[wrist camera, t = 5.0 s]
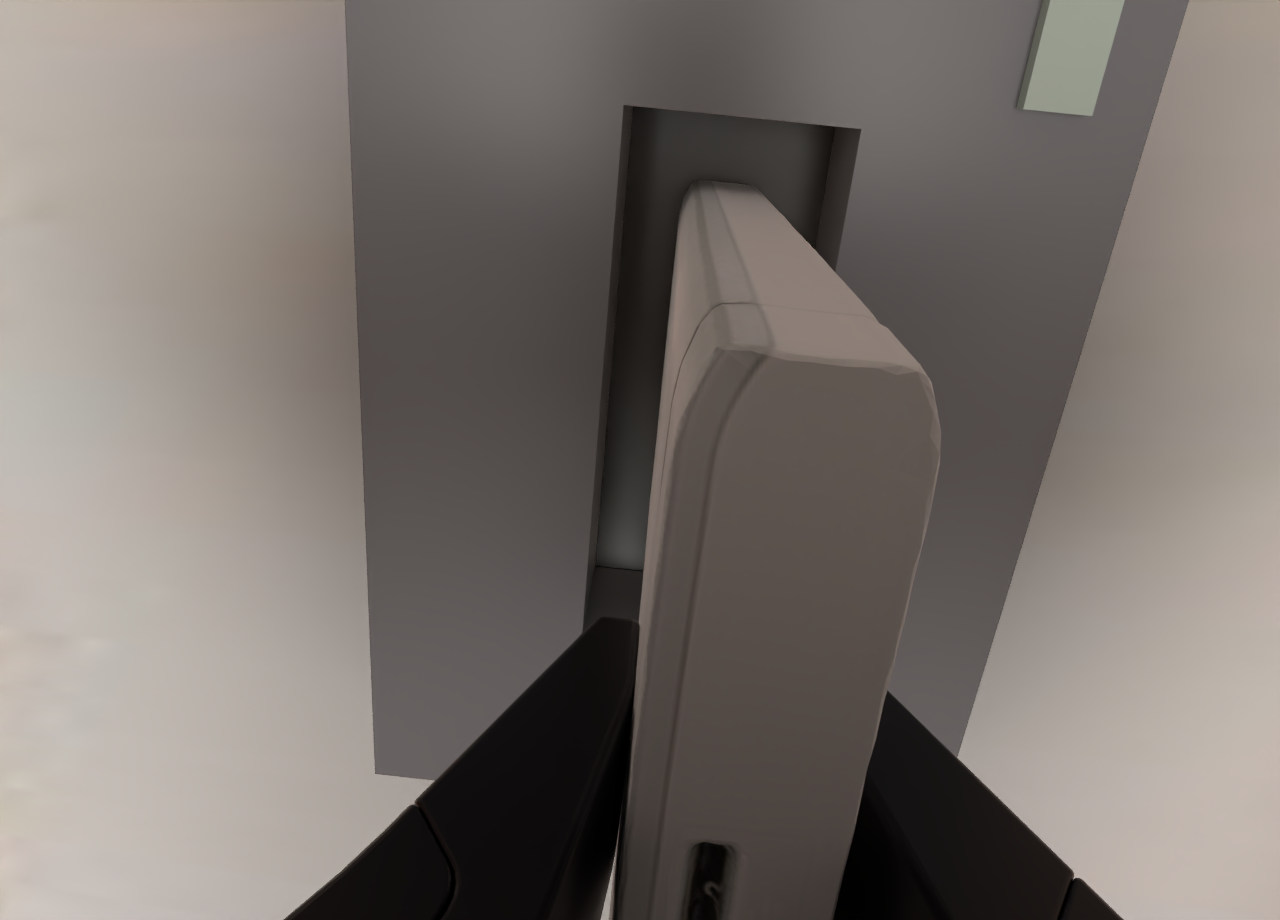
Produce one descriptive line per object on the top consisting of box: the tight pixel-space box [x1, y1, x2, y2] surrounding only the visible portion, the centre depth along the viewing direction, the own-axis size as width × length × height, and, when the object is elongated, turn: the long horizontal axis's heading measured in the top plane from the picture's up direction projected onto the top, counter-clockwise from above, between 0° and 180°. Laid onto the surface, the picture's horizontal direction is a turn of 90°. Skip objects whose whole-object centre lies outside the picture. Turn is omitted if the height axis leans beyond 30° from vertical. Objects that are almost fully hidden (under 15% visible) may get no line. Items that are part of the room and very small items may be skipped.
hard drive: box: [609, 180, 941, 920], centre depth 12 cm, size 2×8×12 cm, turn 175°
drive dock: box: [345, 0, 1189, 780], centre depth 16 cm, size 18×12×3 cm, turn 175°
